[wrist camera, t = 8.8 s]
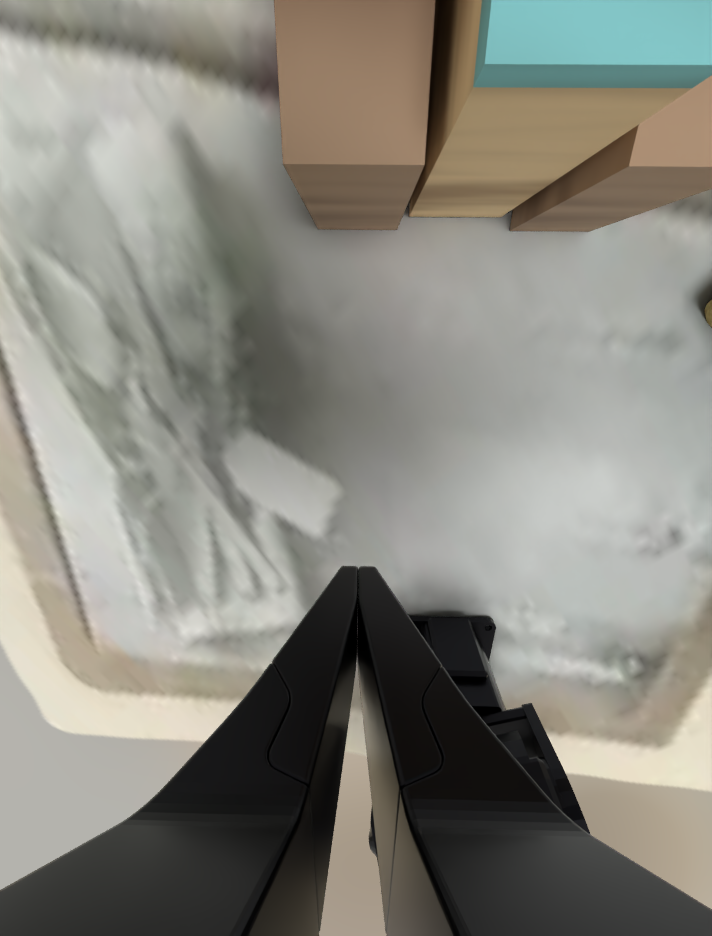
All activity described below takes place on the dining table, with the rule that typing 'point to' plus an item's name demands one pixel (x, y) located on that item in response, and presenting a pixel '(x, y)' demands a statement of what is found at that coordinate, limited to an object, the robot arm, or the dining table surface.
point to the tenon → (545, 91)
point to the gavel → (709, 313)
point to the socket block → (405, 126)
